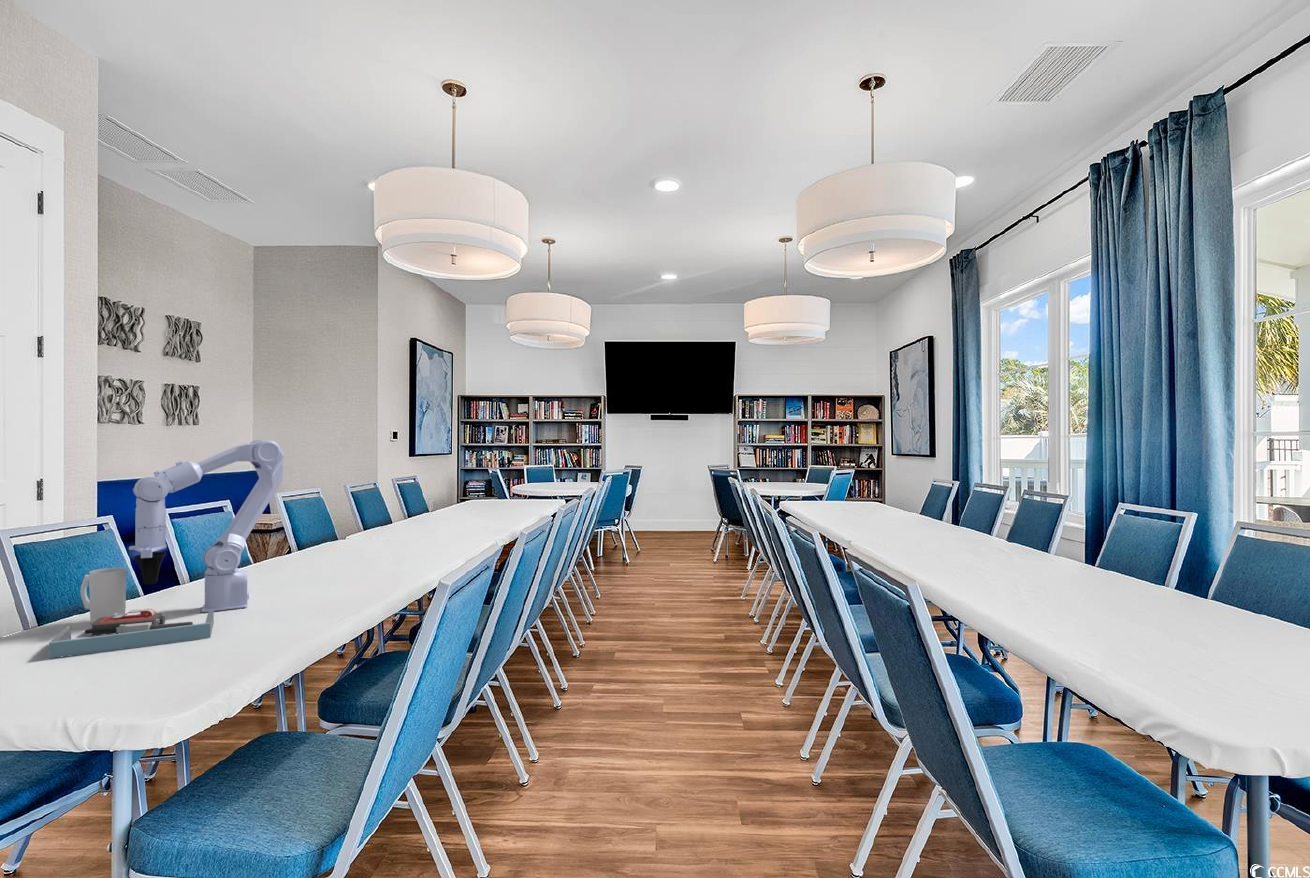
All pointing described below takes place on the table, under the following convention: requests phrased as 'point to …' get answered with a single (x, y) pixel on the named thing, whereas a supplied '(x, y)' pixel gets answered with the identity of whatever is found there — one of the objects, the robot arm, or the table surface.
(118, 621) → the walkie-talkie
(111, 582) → the mug
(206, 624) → the tray
